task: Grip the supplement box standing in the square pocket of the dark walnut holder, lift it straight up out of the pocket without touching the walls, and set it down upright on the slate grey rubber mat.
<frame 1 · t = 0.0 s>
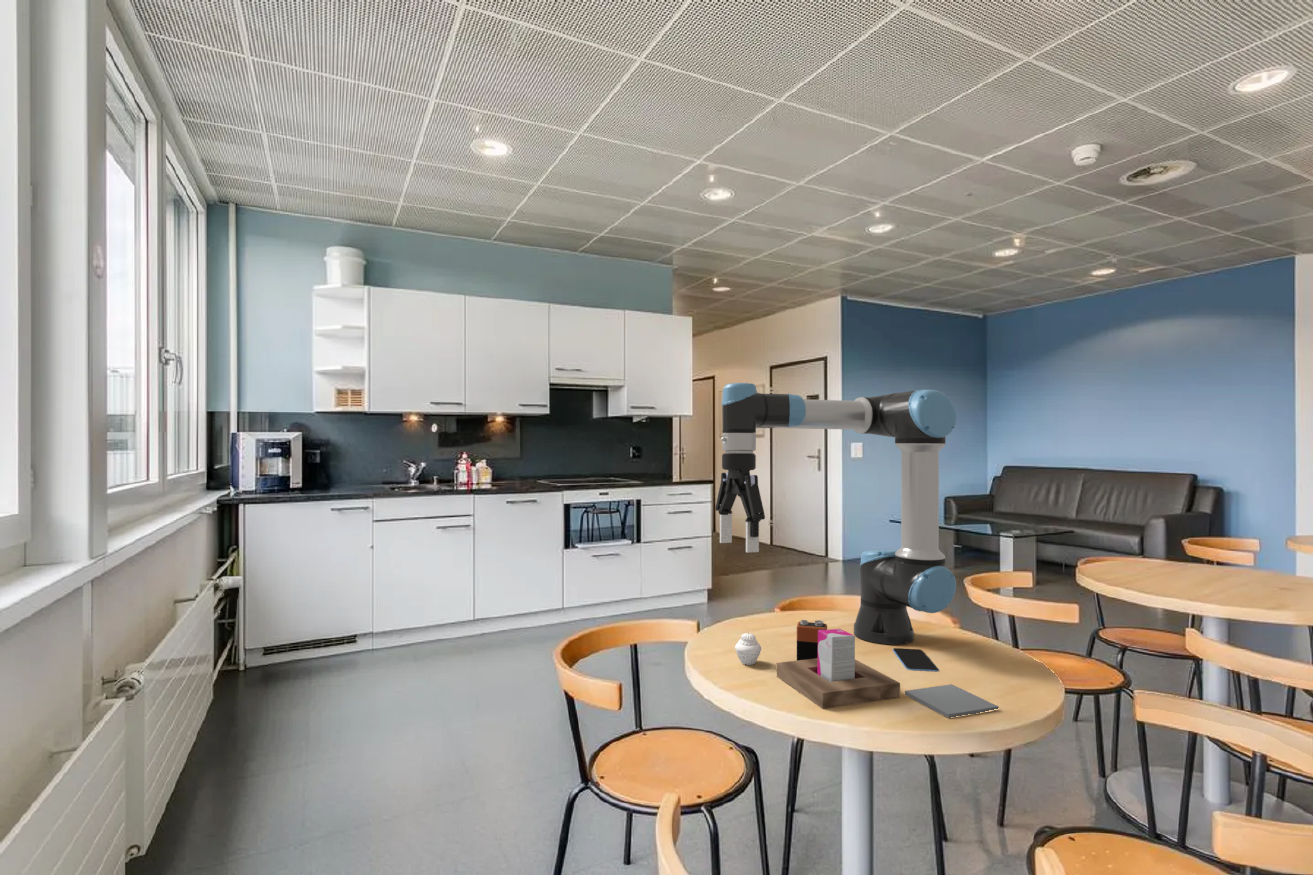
hand: (738, 547, 143), 28 cm above the table, tool pointing down, fingers open, 13 cm apart
supplement box: (835, 687, 135), resting in holder
mat: (950, 702, 127), on the table
smartphone: (914, 662, 152), on the table
holder: (835, 686, 135), on the table
battery: (811, 664, 149), on the table
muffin: (748, 663, 149), on the table
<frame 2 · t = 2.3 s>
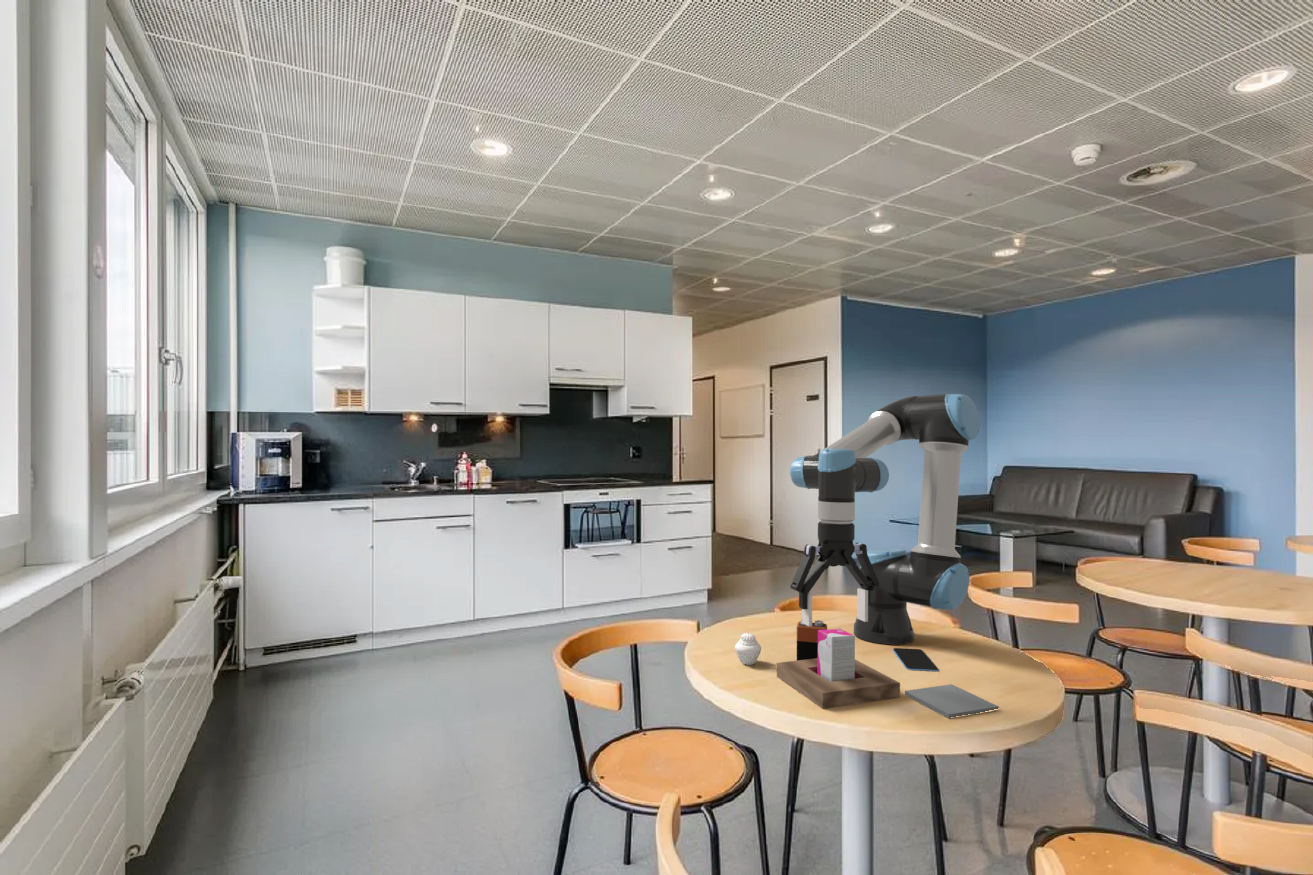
hand: (835, 622, 135), 14 cm above the table, tool pointing down, fingers open, 13 cm apart
nothing on the table moved.
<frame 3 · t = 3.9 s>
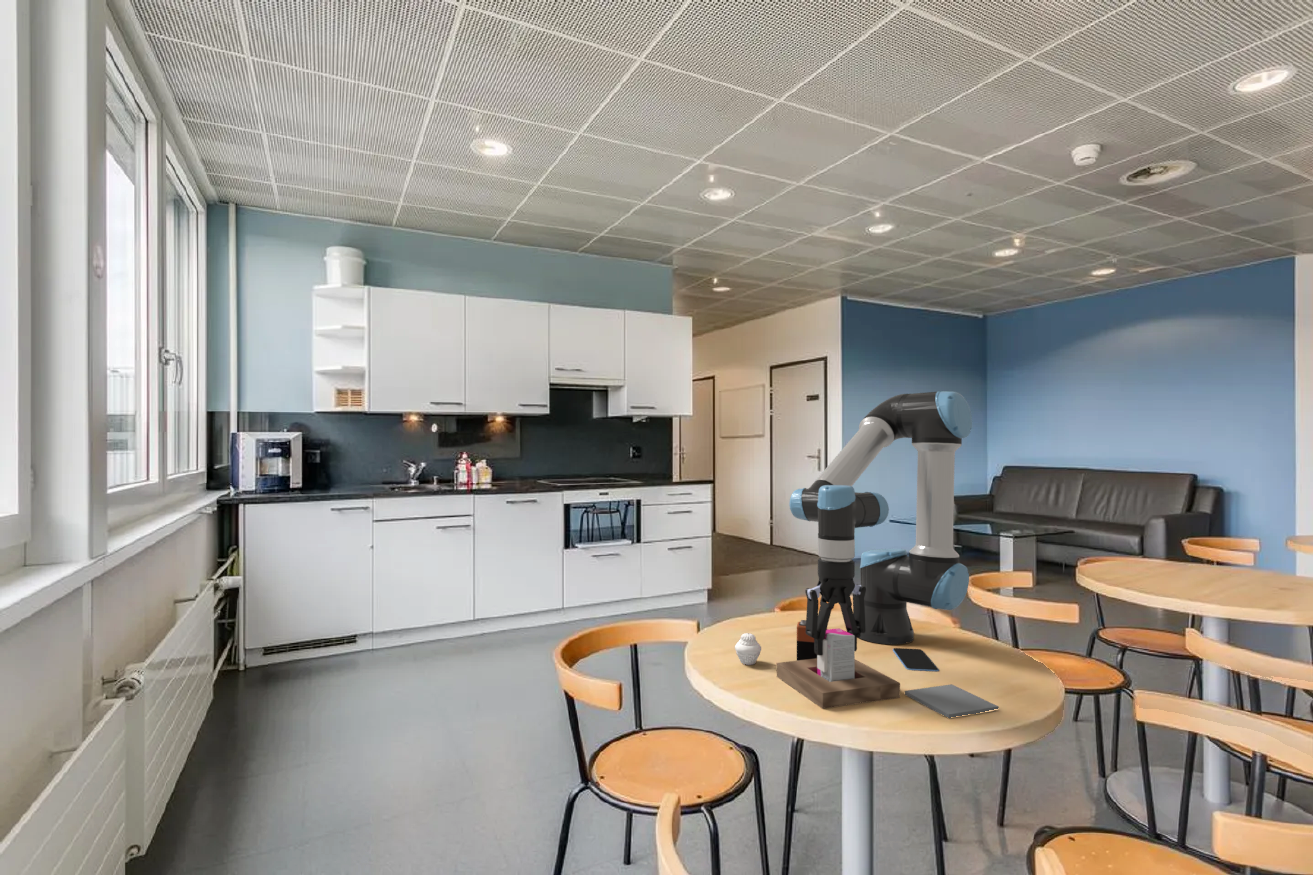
hand: (835, 668, 135), 4 cm above the table, tool pointing down, fingers closed on supplement box, 6 cm apart
supplement box: (835, 687, 135), resting in holder, touching gripper
everything else where it was.
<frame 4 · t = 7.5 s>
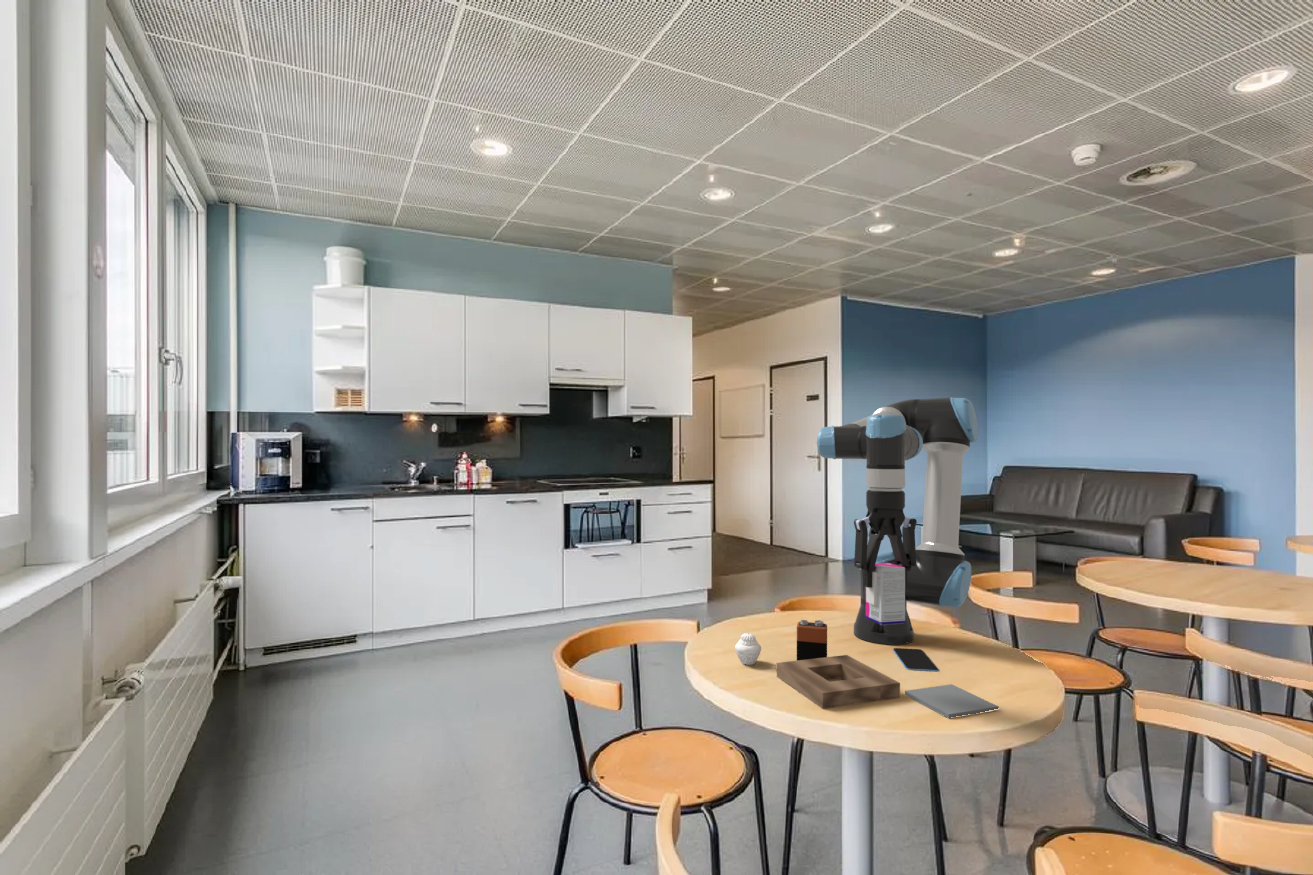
hand: (885, 601, 132), 19 cm above the table, tool pointing down, fingers closed on supplement box, 6 cm apart
supplement box: (885, 621, 132), point 15 cm above the table, touching gripper
everything else where it was.
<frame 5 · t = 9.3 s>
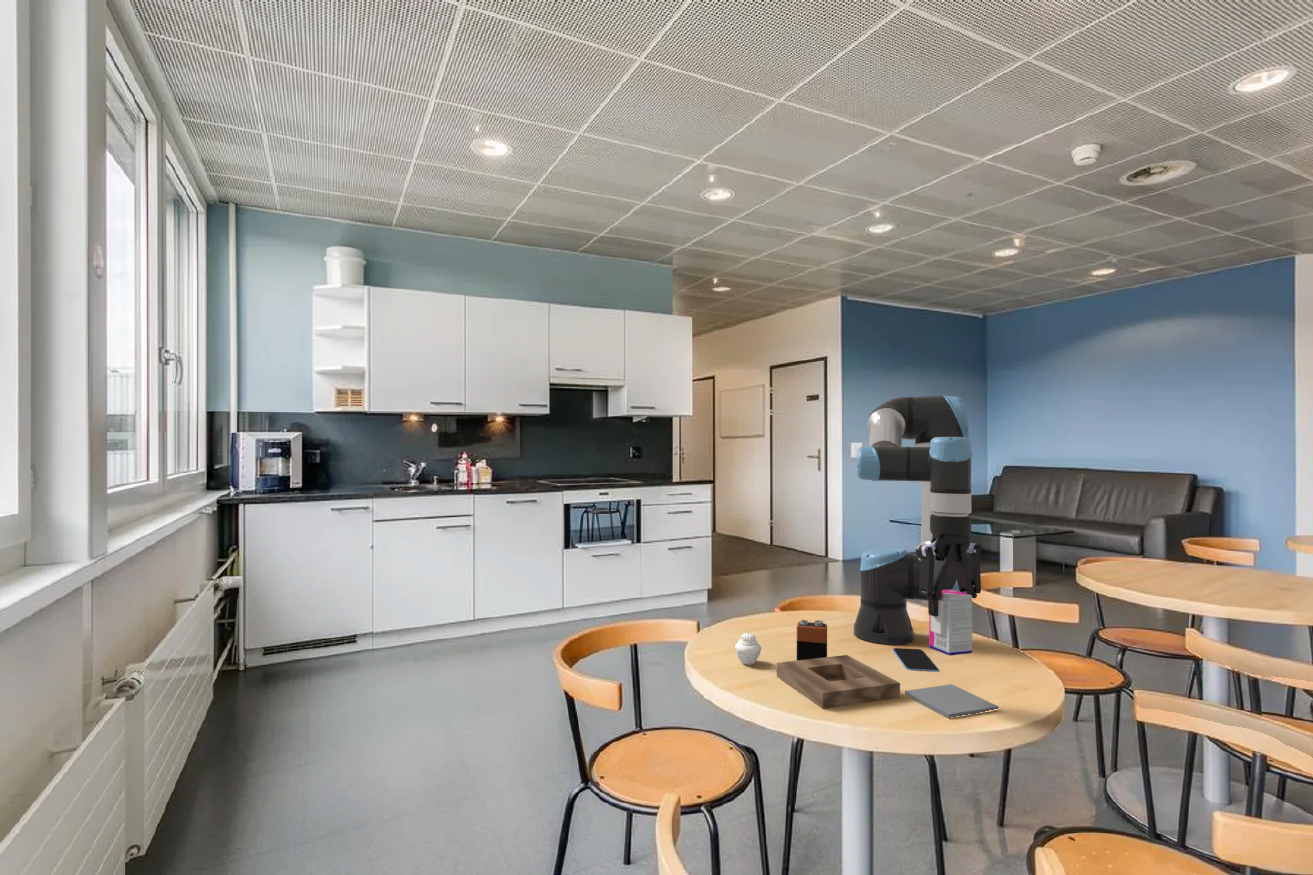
hand: (950, 630, 127), 14 cm above the table, tool pointing down, fingers closed on supplement box, 6 cm apart
supplement box: (950, 651, 127), point 10 cm above the table, touching gripper
everything else where it was.
when the fingers open (6 cm above the table, at t = 11.0 s): supplement box drops 1 cm, resting on mat.
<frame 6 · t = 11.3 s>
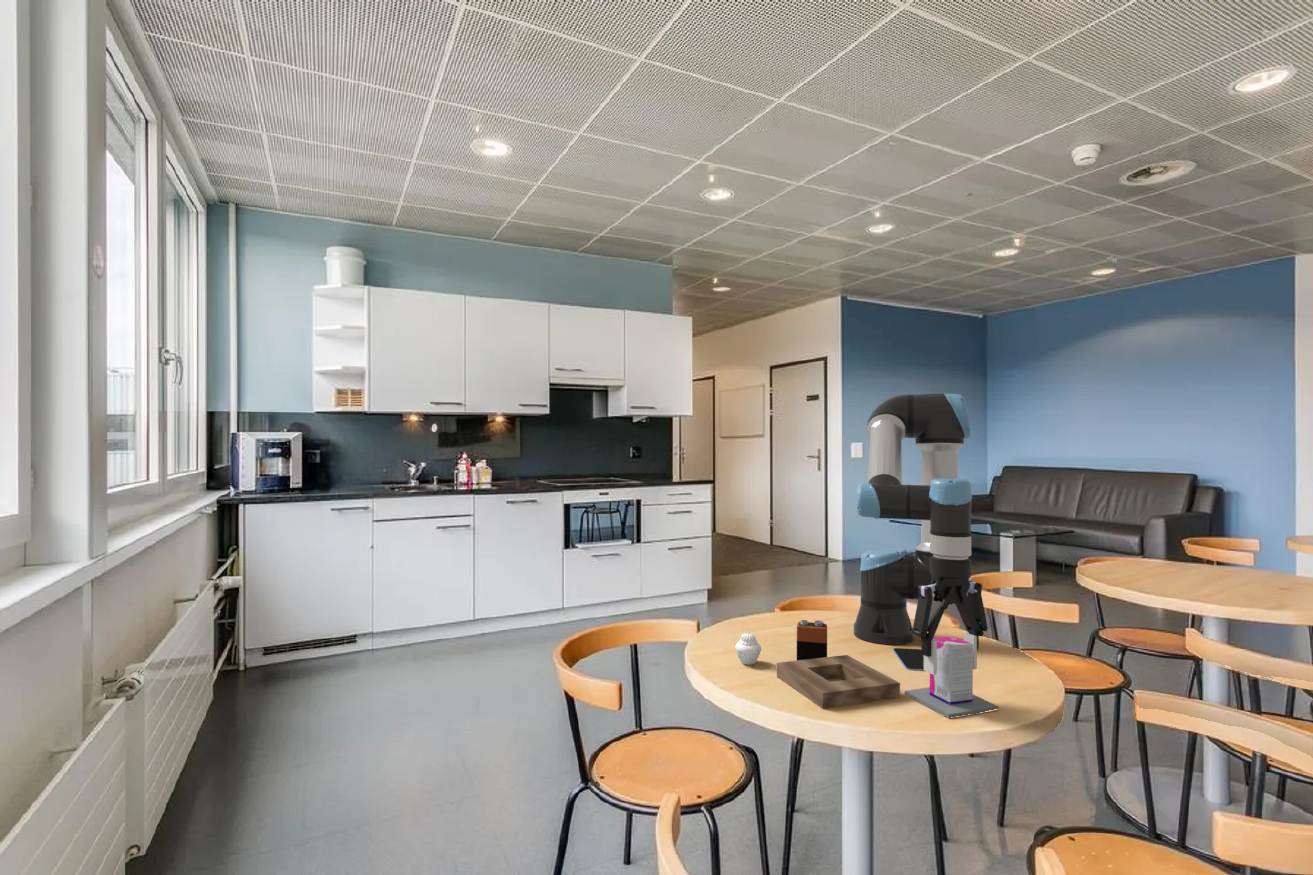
hand: (950, 669, 127), 7 cm above the table, tool pointing down, fingers open, 9 cm apart
supplement box: (950, 699, 127), point 1 cm above the table, touching mat
everything else where it was.
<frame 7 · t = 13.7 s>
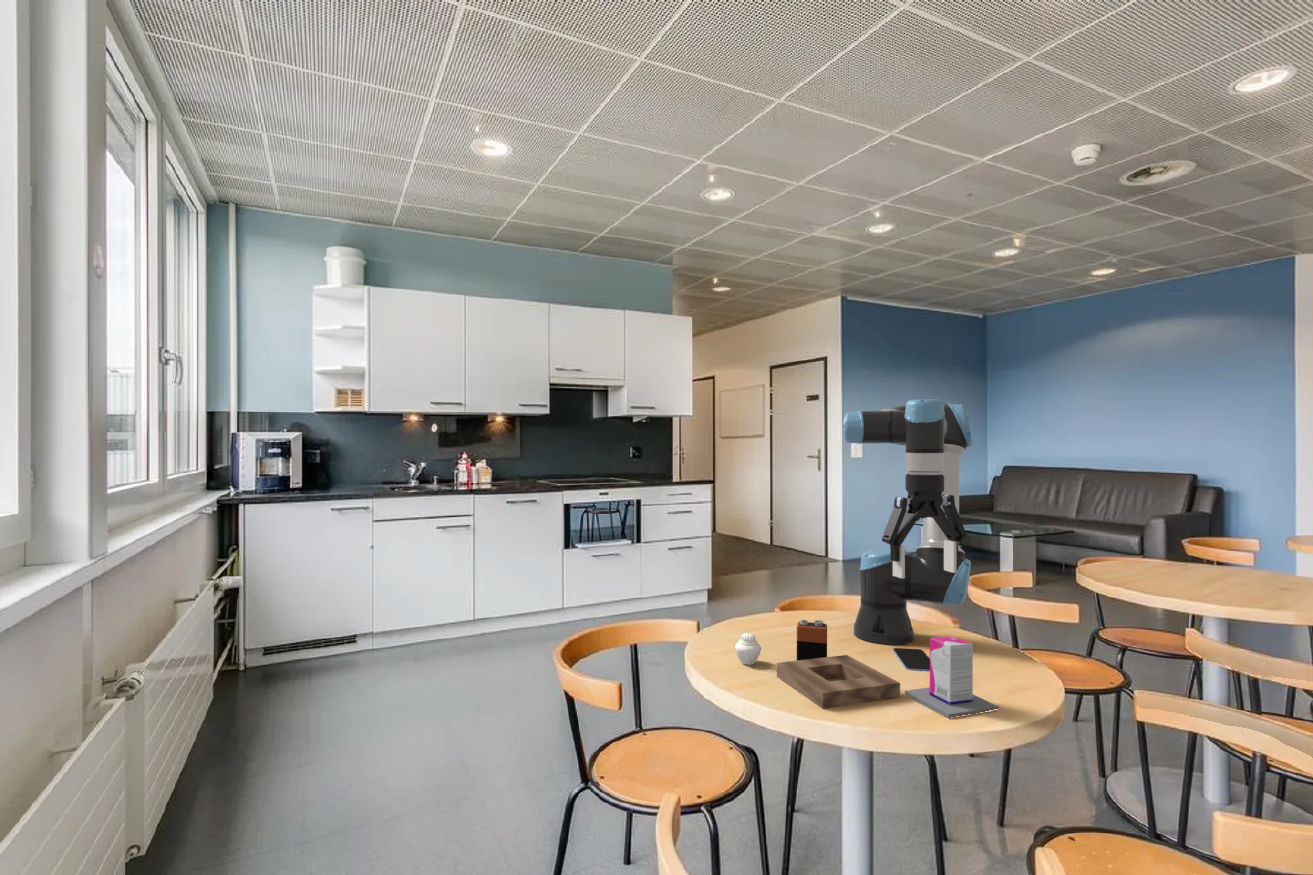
hand: (924, 574, 134), 24 cm above the table, tool pointing down, fingers open, 13 cm apart
nothing on the table moved.
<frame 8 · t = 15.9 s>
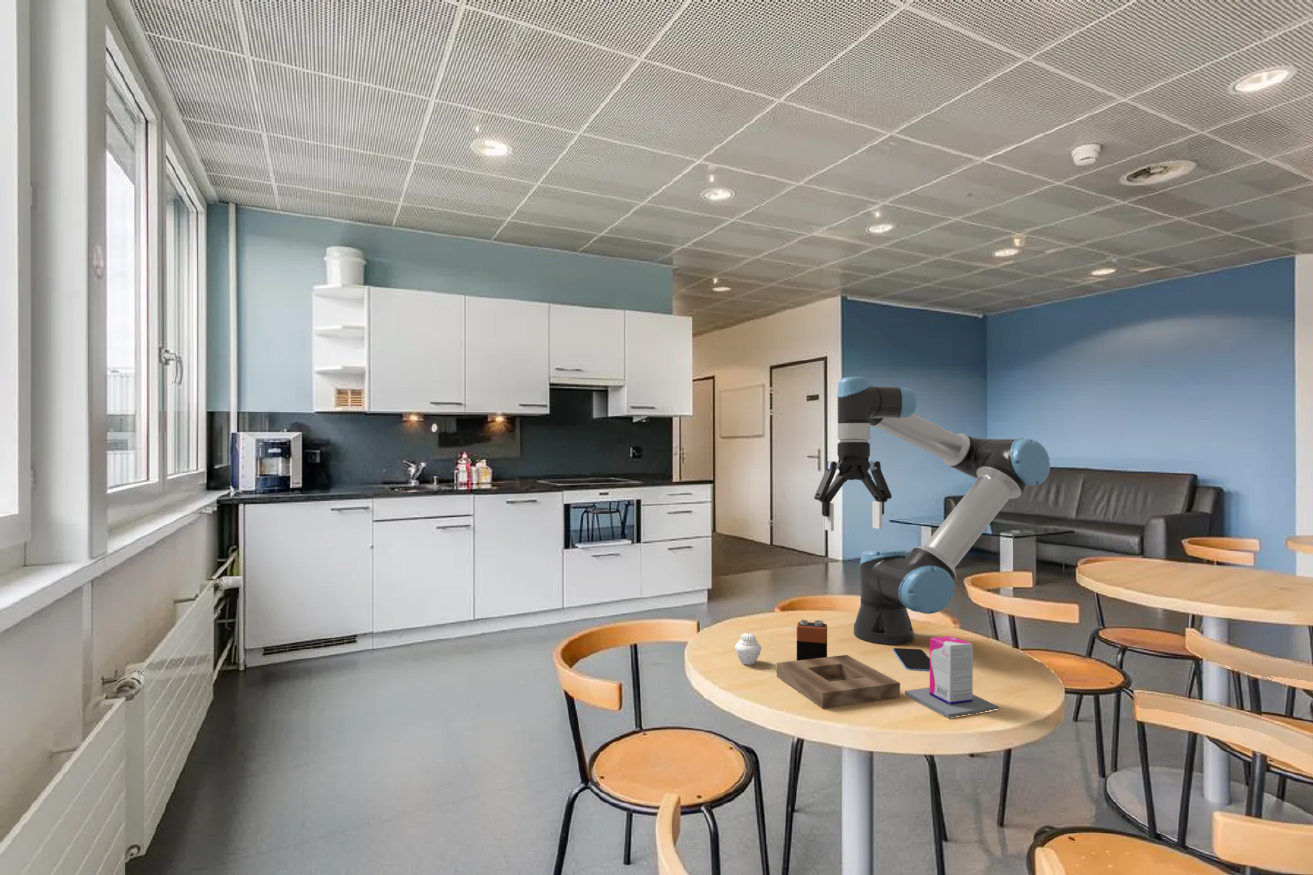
hand: (853, 529, 154), 31 cm above the table, tool pointing down, fingers open, 13 cm apart
nothing on the table moved.
at the end: supplement box inside the target area on the mat (0.2 cm from its centre), point 0.6 cm above the mat's base; supplement box tilted 0°; supplement box touching mat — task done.
